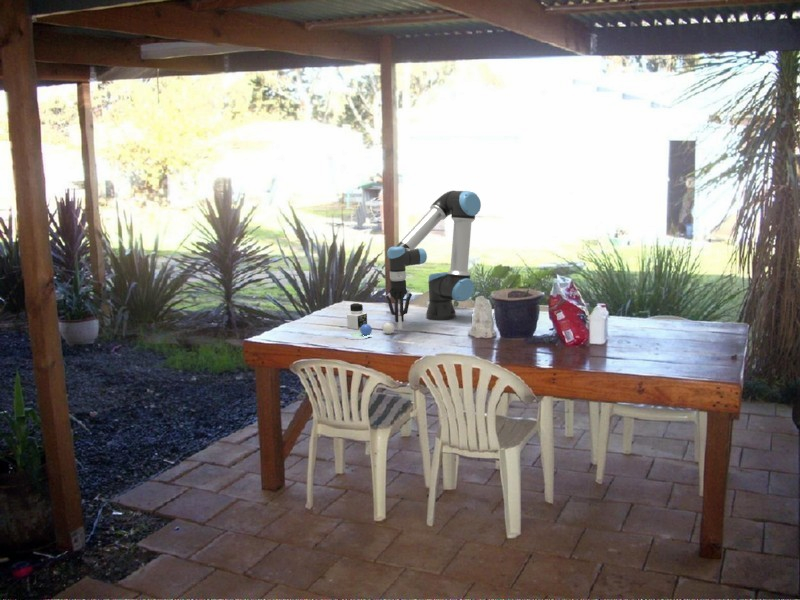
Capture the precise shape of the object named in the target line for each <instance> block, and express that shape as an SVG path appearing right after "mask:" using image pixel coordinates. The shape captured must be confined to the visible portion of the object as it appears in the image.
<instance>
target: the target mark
mask: <svg viewBox="0 0 800 600" xmlns="http://www.w3.org/2000/svg"><path fill="white" fill-rule="evenodd" d="M349 334H351V336H352V337H354V338H356V337H357V336H358V337H357V338H359V339H360V338H361V339H362V338H363V337H364V336H363V335H362V334H361V332H351V333H349ZM362 340H363V339H362Z"/></svg>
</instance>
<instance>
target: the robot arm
mask: <svg viewBox="0 0 800 600" xmlns="http://www.w3.org/2000/svg"><path fill="white" fill-rule="evenodd" d="M481 205H482V203H481V199H480V197H479V196H478V194H477V193H475V192H473V191H470V190H469V191H468V190H449V191H447V192H445V193H443V194H442V195H440V196H439V197H438V198H437V199H436V200H435V201H434V202H433V203H432V204H431V205H430V207H429V210H428V212H426V214H425V215H424V216H423V217H421V219H420V220H419V221H418V222H417V224H415V226H413V228H412V229H411V230H410V231H409V232H408V233H407V234H406V235H405V236H404V237H403V238H402V240H401V241H400V242H399V243H398V244H396V245H394V246H393V245H392V246H391V247H389V248H388V250H387V252H386V255H387V256H386V257H387V259H388V263H389V265H388V266H389V279H390V280H389V288H390V289H389V292H388V294H385V295H384V297H385V298H386V300H387V304H388V306H389V311H390V314H391V315H393V316H394V320H395V323H397V324H396V325H397V329H398V330H403V323H404V321H405V319H404V317H405V316H404V315H407V314H408V311H409V306H410V302H411V301H410V300H411V298H412V296H413V294H412V293H411V292H408V290H407V280H406V279H407V277H406V267H409V266H410V267H411V266H417V265H422V264H423V265H424V264H425V263H426V261H427V259H428V255H427V251H426V250H425V249H424V248H417V247H418V245H420V244H421V242H423V240H424V239H425V238H427V236H428V235H429V234H430V233H431V232H432V231H433V229H435V227H436V226H438V224H439V223H440V222H441V221H443V220H445V219H447V217H449V216H450V215H451V220H452V221H453V231H452V242H451V243H452V246H451V254H450V255H451V257H450V269H449V270H448V271H446V272H435V273H430V274H429V275H428V297H429V298H428V302H429V304H428V306H427V309H426V315H425V316H426V318H427V319H428V320H432V321H434V320H435V321H445V320H446V321H447V320H452V319H455V318H456V317H457V311H456V310H455V309H456V308H455V306H454V304H453V301H455V302H466V301H469V299H470V298H471V297H472V296H473V294H474V290H475V285H474V283H473V280H471V273H470V272H469V270H468V269H469V258H470V256H469V255H470V246H471V245H470V244H471V233H472V223H473V222H474V221H475V220H476V215H478V214H479V212H480V211H481V207H482V206H481ZM391 297H392V298H393V302H394V304H393V303H392V300H391ZM405 297H406V299H405V303H404V298H405ZM393 305H394V306H393ZM454 317H455V318H454Z"/></svg>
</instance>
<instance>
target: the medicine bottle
mask: <svg viewBox="0 0 800 600" xmlns="http://www.w3.org/2000/svg"><path fill="white" fill-rule="evenodd" d="M349 307H350V312H349V313H347V314H346V318H347V319H346V321H347V323H346V324H347V329H350V330H351V329H352V330H360V328H361V326H362V325H364V324H368V314H367V312H364V307H363V303H359V302H355V303H351V304H350V306H349Z"/></svg>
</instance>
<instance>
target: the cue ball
mask: <svg viewBox="0 0 800 600" xmlns="http://www.w3.org/2000/svg"><path fill="white" fill-rule="evenodd" d="M382 330H383V332H384V333H385V334H387V335H390V334H393V333H394V331H395V325H394V323H392V322H390V321H388V322H385V323H384V324H383V326H382Z"/></svg>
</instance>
